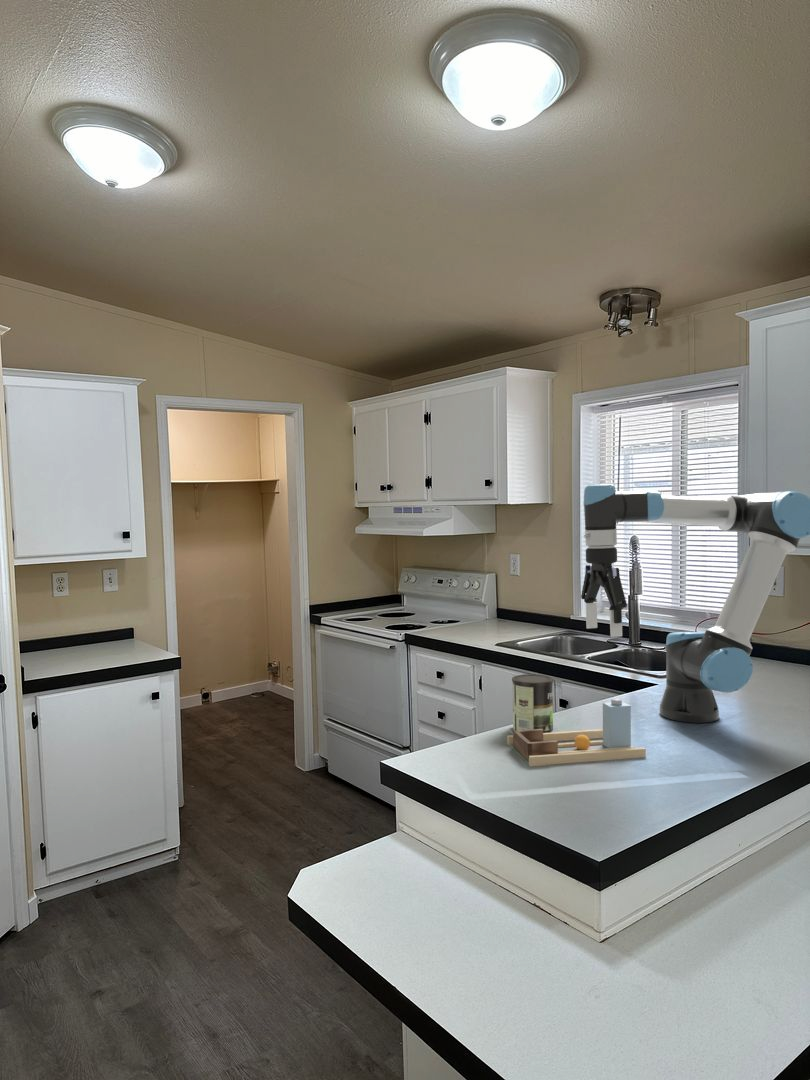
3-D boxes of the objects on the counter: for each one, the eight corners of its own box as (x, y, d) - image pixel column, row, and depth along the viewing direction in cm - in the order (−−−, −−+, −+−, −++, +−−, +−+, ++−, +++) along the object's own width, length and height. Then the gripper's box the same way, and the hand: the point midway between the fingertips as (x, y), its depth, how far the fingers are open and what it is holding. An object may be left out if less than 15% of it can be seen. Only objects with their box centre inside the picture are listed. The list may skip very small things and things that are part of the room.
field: (613, 740, 178) (613, 728, 178) (645, 762, 162) (645, 748, 162) (507, 747, 173) (507, 735, 173) (530, 771, 158) (530, 757, 158)
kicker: (622, 743, 172) (622, 697, 172) (630, 748, 168) (630, 701, 168) (602, 744, 171) (602, 698, 171) (610, 750, 167) (610, 702, 167)
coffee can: (553, 728, 189) (553, 674, 189) (553, 740, 179) (553, 683, 178) (513, 726, 191) (513, 673, 191) (511, 738, 181) (510, 682, 180)
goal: (541, 745, 172) (541, 728, 172) (557, 759, 162) (557, 741, 162) (513, 747, 170) (513, 730, 170) (527, 761, 161) (527, 743, 161)
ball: (586, 747, 170) (586, 732, 170) (592, 751, 167) (592, 736, 167) (572, 748, 170) (572, 733, 169) (578, 752, 166) (578, 737, 166)
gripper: (566, 545, 192) (569, 625, 192) (609, 549, 167) (612, 641, 168) (593, 544, 193) (595, 623, 194) (640, 548, 168) (642, 639, 169)
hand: (603, 632), depth 181 cm, fingers open, 13 cm apart
